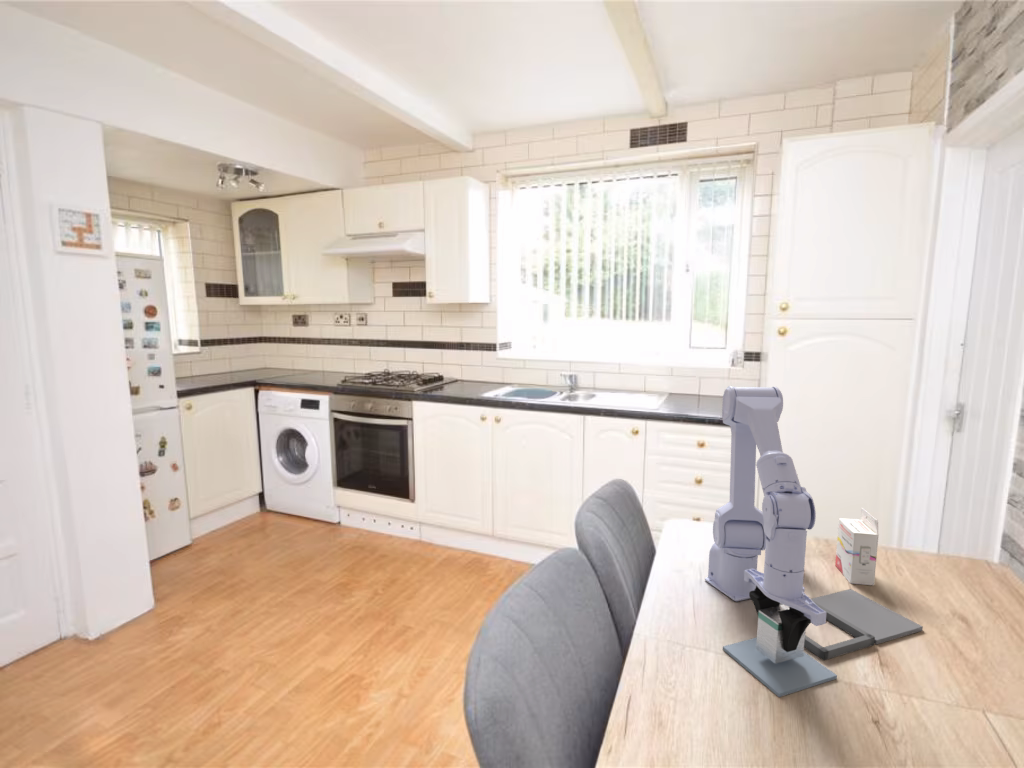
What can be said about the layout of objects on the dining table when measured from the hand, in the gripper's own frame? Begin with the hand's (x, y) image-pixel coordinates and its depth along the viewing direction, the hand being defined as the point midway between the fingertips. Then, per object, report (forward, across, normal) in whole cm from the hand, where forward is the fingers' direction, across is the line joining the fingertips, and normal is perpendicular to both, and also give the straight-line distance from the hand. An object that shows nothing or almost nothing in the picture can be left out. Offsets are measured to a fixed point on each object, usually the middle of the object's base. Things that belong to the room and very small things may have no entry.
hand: (778, 641), depth 85 cm
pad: (+4, 0, 0) cm, 4 cm away
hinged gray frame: (+4, +5, -20) cm, 21 cm away
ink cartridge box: (+4, +17, -40) cm, 44 cm away
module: (+2, 0, 0) cm, 2 cm away
